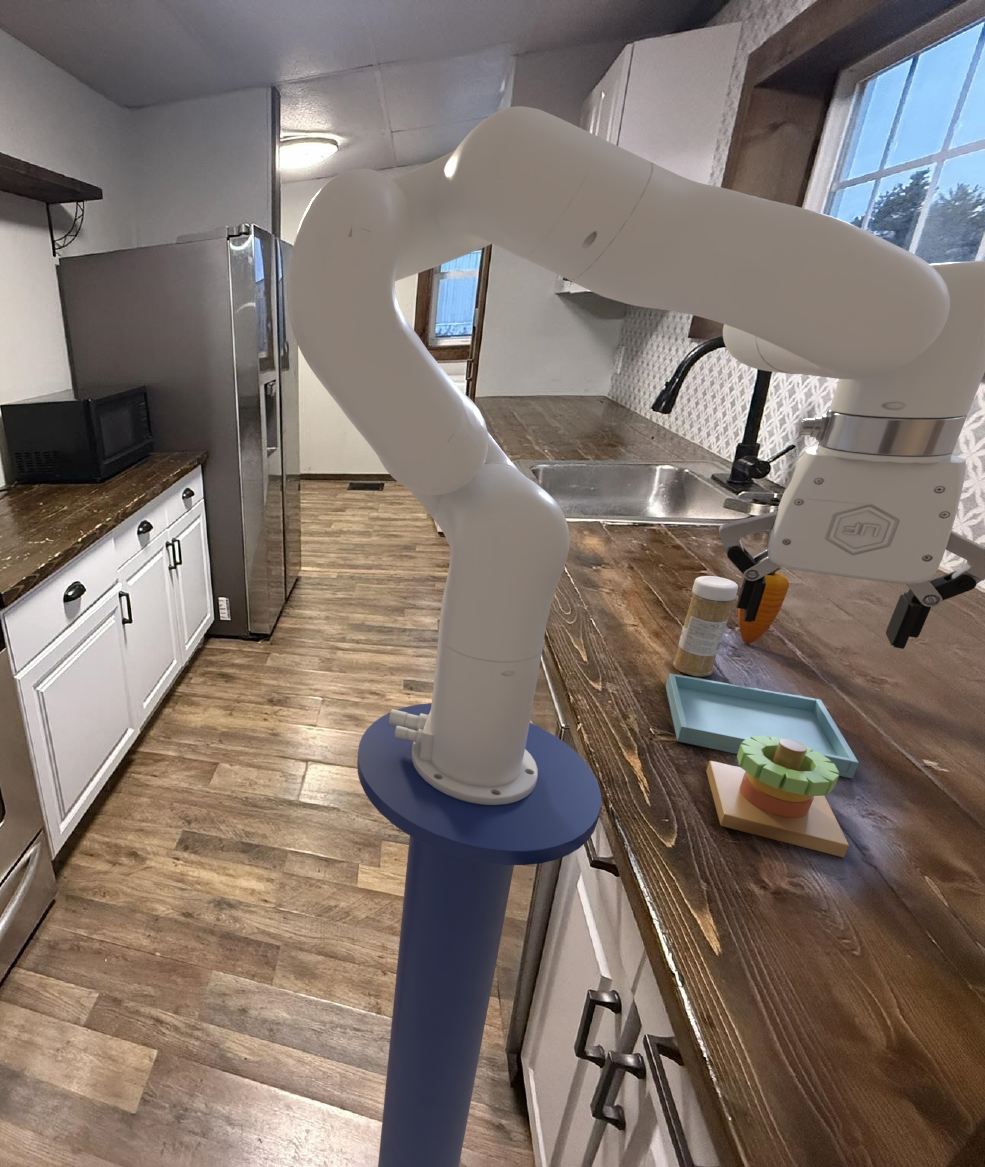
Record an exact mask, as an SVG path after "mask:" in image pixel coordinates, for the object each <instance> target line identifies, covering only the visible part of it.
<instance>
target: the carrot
mask: <svg viewBox="0 0 985 1167" xmlns="http://www.w3.org/2000/svg"><path fill="white" fill-rule="evenodd" d="M783 568H784V567H780V568H778V569H776V570H774V571H773V572H771V573H769V574H767V575H765V581H766V586H765V590H764V593H763V596H762V599H761V603H760V606H759V609H758V612H757V615H756V619H755V621H752V622H747V621H744V609H740V608H738V614H737V615H738V620H737V621H738V626H739V627H738V629H739V633H740V635H741V636H740V637H741V639H742V641H743V642H744V643H745V645H750V644H752V643H754V642H755V641H757V640H758V639H759V638H761V637H762V636H763V635H764V634H765V633H766V632H767V631H768V630H769V628H770V627H771V626H772V624H773V622H774V621H775V620H776V617H777V616H778V614H779V613H780V610H781V608H782V606H783V603H784V601H785V598H786V595H787V593H788V590H789V587H790V581H789V580H788V577H787V576H786V575H785V574H783V573H781V572H778V571H779V570H781V569H783Z"/></svg>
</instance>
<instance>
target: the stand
mask: <svg viewBox="0 0 985 1167" xmlns="http://www.w3.org/2000/svg"><path fill="white" fill-rule="evenodd" d="M806 752H807V748H806V746H804V745H803V744H801V743H799V742H797V741H794V740H790V739H782V740H780V741H779V744H778V746H777V749H776V752H775V755H774V757H773V758H769V760H770V761H771V762H773V763H775V764H777V765H780V766H782V767H784V768H787V769H791V770H796V771H800V772H802V771H804V770H802V769H801V768H800V767H801V765H802V762H803V759H804V757H805V754H806ZM705 771H706V776H707V779H708V783H709V787H710V791H711V795H712V800H713V803H714V806H715V810H716V813H717V818H718V821H719V824H720V826H721V827H724V828H726V829H727V828H728V829H732V830H736V831H740V832H743V833H746V834H751V835H755V836H759V837H763V838H767V839H770V840H773V841H778V842H782V843H786V844H789V845H793V846H798V847H801V848H805V849H809V850H812V851H817V852H821V853H825V854H828V855H832V856H836V857H840V858H845V855H846V853H847V852H848V849H849V847H850V845H849V843H848V840H847V838H846V835H845V834H844V832H843V830H842V828H841V826H840V823H839V822H838V820H837V818H836V815H835V814H834V811H833V810H832V808H831V806H830V804H829V801H828V800H827V798H826V794H825V795H824V796H807V795H806V794H805V793H804V795H798V794H794V793H789V792H785V791H783V790H782V787H781V786H780V787H779V788H778V789H776V788H774V787H771V786H769V785H767V784H765V783H763V782H760V781H759V778H753V777H752V776H751V775H750V774H748V773H747V772H746V771H745V770H744V769H742V766H737V765H732V764H727V763H722V762H718V761H715V760H709V761H708V764H707V767H706V770H705Z"/></svg>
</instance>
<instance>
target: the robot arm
mask: <svg viewBox="0 0 985 1167" xmlns="http://www.w3.org/2000/svg"><path fill="white" fill-rule="evenodd" d="M490 245H494V246H496V247H498V248H500V249H502V250H504V251H506V252H509V253H511V254H512V255H514V256H516V257H519V258H521V259H525V260H527V261H529V262H532V263H533V264H535V265H537V266H540V267H542V268H544V269H546V270H548V271H550V272H552V273H554V274H556V275H558V276H561V277H563V278H564V279H567V280H568V281H570V282H572V283H574V284H576V285H578V286H580V287H581V288H584V289H586V290H588V291H590V292H592V293H595V294H596V295H599V296H600V297H603V298H606V299H609V300H612V301H616V302H619V303H623V304H627V305H631V306H635V307H641V308H647V309H648V308H649V309H656V310H662V311H670V312H676V313H680V314H681V313H682V314H687V315H691V316H696V317H699V318H703V319H706V320H711V321H712V322H716V323H719V324H722V325H723V328H722V339H723V344H724V346H725V348H726V350H727V351H728V353H729V355H731V356H732V357H733V358H734V359H735V360H736V361H737V362H739V363H741V364H742V365H745V366H747V367H749V368H752V369H756V370H759V371H764V372H772V373H781V374H789V375H804V376H811V377H812V376H813V377H819V378H829V379H836V380H837V379H838V380H837V383H836V388H835V391H834V393H833V397H832V400H831V403H830V406H829V409H827V411H826V414H822V415H821V417H814V418H802V420H801V422H800V426H799V430H798V436H809V438H815V440H816V441H817V442H818V444H817V446H811V447H808V448H806V450H805V451H804V453H803V455H802V456H801V458H800V459H799V461H798V463H797V465H796V466H795V468H794V471H793V472H792V475H791V477H790V479H789V481H788V483H787V484H786V487H785V490H784V492H783V494H782V497H781V499H780V502H779V503H778V507H777V509H776V510H774V511H770V512H766V513H762V514H758V515H754V516H750V517H747V518H743V519H739V520H735V521H731V522H727V523H723V524H721V525H720V526H719V528H718V535H719V538H720V540H721V543H722V546H723V548H724V552H725V554H726V557H727V559H728V560H729V561H730V562H731V563H732V564H733V565H734V567H736V568H737V569H738V571H739V572H740V573H741V574H742V575H743V581H742V584H741V588H740V591H739V594H738V598H737V602H736V608H737V609H739V608H740V609H744V621H747V622H752V621H755V619H756V615H757V612H758V609H759V606H760V603H761V599H762V596H763V593H764V590H765V586H766V581H765V575H767V574H769V573H771V572H773V571H774V570H776V569H778V568H780V567H783V568H784V569H788V570H793V571H799V572H805V573H806V572H807V573H812V574H813V573H814V574H819V575H828V576H834V577H841V578H843V577H844V578H851V579H859V580H865V581H866V580H867V581H872V582H879V583H881V582H882V583H890V584H900V585H906V586H907V587H908V591H907V592H906V591H904V593H903V594H900V595H899V598H898V600H897V602H896V605H895V608H894V610H893V612H892V614H891V617H890V620H889V622H888V625H887V627H886V630H885V635H886V637H887V639H888V641H889V644H890V645H891V646H893V648H897V649H901V650H904V649H905V648H906V646H907V643H908V641H909V638H914V639H917V638H919V636H920V634H921V632H922V630H923V628H924V625H925V623H926V620H927V618H928V616H929V614H930V612H931V609H932V608H934V607H938V606H939V605H941V604H942V603H943V601H946V600H949V599H951V598H954V597H957V596H958V595H962V594H964V593H967V592H970V591H972V590H974V589H975V588H976V587H977V585H978V584H979V583H981V582H983V581H985V546H983V545H982V544H980V543H978V542H976V541H973V540H971V539H970V538H967V537H965V536H963V535H962V534H959V533H958V532H956V531H954V530H953V527H954V524H955V520H956V516H957V512H958V509H959V506H960V501H961V497H962V493H963V487H964V484H965V483H964V482H965V476H966V469H967V468H966V467H967V466H966V465H967V459H965V458H962V457H961V456H958V455H955V454H953V452H954V450H955V448H956V446H957V443H958V440H959V438H960V435H961V433H962V430H963V428H964V426H965V423H966V420H967V418H968V415H969V413H970V410H971V408H972V405H973V403H974V400H975V397H976V395H977V392H978V390H979V388H980V385H981V383H982V380H983V378H984V376H985V260H968V261H951V262H939V263H938V262H937V263H929V262H928V261H926V260H925V259H923V258H922V257H920V256H918V255H917V254H915V253H913V252H911V251H909V250H907V249H905V248H903V247H901V246H899V245H897V244H895V243H893V242H891V241H888V240H887V239H884V238H882V237H880V236H878V235H876V234H874V233H873V232H870V231H868V230H866V229H863V228H861V227H859V226H856V225H853V223H849V222H848V221H845V220H842V219H839V218H836V217H834V216H831V215H827V214H825V213H821V212H818V211H815V210H812V209H809V208H804V207H800V206H796V205H793V204H788V203H784V202H778V201H776V200H771V199H767V198H763V197H758V196H756V195H755V196H754V195H751V194H747V193H743V192H741V191H737V190H733V189H730V188H725V187H721V186H716V185H711V184H705V183H701V182H698V181H694V180H691V179H689V178H687V177H684V176H683V175H680V174H677V173H675V172H673V171H670V170H669V169H666V168H665V167H663V166H660V165H658V164H656V163H654V162H652V161H650V160H647V159H646V158H643V157H641V156H639V155H637V154H636V153H633V152H631V151H629V150H628V149H625V148H623V147H621V146H618V145H617V144H614V143H612V142H610V141H609V140H606V139H604V138H602V137H599V136H598V135H596V134H594V133H592V132H589V131H587V130H586V129H583V128H581V127H579V126H578V125H575V124H573V123H571V122H569V121H567V120H565V119H562V118H560V117H558V116H556V115H554V114H551V113H549V112H547V111H545V110H543V109H540V108H535V107H530V106H524V105H523V106H521V105H520V106H510V107H506V108H503V109H500V110H498V111H496V112H493V113H492V114H490V115H489V116H487V117H486V118H484V119H483V120H482V121H481V122H479V123H478V124H477V125H475V127H474V128H472V129H471V130H470V131H469V132H468V134H466V136H465V137H464V138H463V139H462V141H461V142H460V143H459V144H458V146H457V147H456V149H454V150H452V151H450V152H448V153H447V154H446V153H445V155H442V156H441V157H438V158H437V159H434V160H432V161H430V162H428V163H426V164H423V165H421V166H418V167H416V168H414V169H411V170H409V171H407V172H405V173H403V174H399V175H398V176H395V177H389V176H387V175H386V174H384V173H382V172H379V171H377V170H375V169H373V168H372V169H371V168H353V169H349V170H346V171H343V172H341V173H339V174H337V175H335V176H334V177H332V178H330V179H329V180H328V181H327V182H326V183H324V184H323V186H322V187H320V189H319V190H318V191H317V193H316V194H315V195H314V197H313V198H312V199H311V201H310V202H309V205H308V206H307V208H306V210H305V212H304V214H303V216H302V219H301V221H300V224H299V226H298V229H297V233H296V236H295V238H294V243H293V246H292V249H291V253H290V259H289V262H288V271H287V278H286V279H287V280H286V300H287V309H288V316H289V320H290V325H291V330H292V332H293V335H294V338H295V342H296V344H297V346H298V348H299V350H300V353H301V354H302V356H303V358H304V360H305V362H306V363H307V365H308V366H309V368H310V370H311V371H312V373H313V374H314V375H315V377H316V378H317V379H318V381H319V382H320V383H321V385H322V387H324V389H325V390H326V391H327V393H328V394H329V395H330V397H332V399H333V400H334V401H335V403H336V404H337V405H338V407H339V408H340V409H341V410H342V412H343V414H344V415H345V416H346V417H347V419H348V420H349V421H350V423H351V424H352V425H353V427H355V429H356V430H357V431H358V433H359V434H360V435H361V436H362V438H364V440H365V441H366V442H367V443H368V445H370V447H371V448H372V450H373V452H375V454H376V455H377V457H378V459H379V460H380V463H381V464H382V466H383V467H384V470H386V472H387V473H388V474H389V475H390V476H391V477H392V479H394V480H395V481H396V482H397V483H399V484H400V485H401V486H402V487H405V488H406V489H408V491H409V492H410V493H411V494H412V496H414V498H415V499H416V500H417V501H418V502H419V504H421V506H422V507H423V509H424V510H425V511H426V512H427V513H428V514H429V516H430V517H431V518H432V519H433V520H434V522H435V523H436V524H437V526H438V527H439V529H440V530H441V531H442V533H443V535H444V537H445V540H446V542H447V545H448V546H449V563H448V564H449V565H448V572H447V577H446V580H445V585H444V588H443V594H442V600H441V606H440V613H439V622H438V632H437V633H438V635H437V636H438V637H437V646H436V657H435V669H434V676H433V677H434V678H433V687H432V696H431V703H432V705H431V710H430V713H429V715H426V714H422V713H421V714H420V716H417V715H413V714H408V713H407V712H402V711H398V710H397V709H393V708H392V709H391V710H390V712H391V713H390V712H389V713H390V717H389V725H390V726H394V727H396V729H395V738H398V739H402V740H408V741H412V742H414V743H413V746H412V762H413V765H414V767H415V769H416V770H417V772H418V773H419V775H420V776H421V777H422V778H423V779H424V780H425V781H426V782H428V783H429V784H430V785H431V786H433V787H434V788H436V789H437V790H439V791H441V792H443V793H445V794H447V795H449V796H451V797H454V798H456V799H459V800H463V801H466V802H470V803H476V804H482V805H501V804H509V803H513V802H517V801H519V800H521V799H523V798H525V797H527V796H528V795H529V794H530V793H531V792H532V791H533V789H534V788H535V786H536V781H537V777H538V769H537V766H536V762H535V761H534V759H533V758H532V756H531V755H530V753H529V752H528V751H527V750H526V749H525V747H526V741H527V735H528V730H529V724H530V723H531V717H532V713H533V706H534V700H535V695H536V689H537V684H538V678H539V673H540V667H541V661H542V656H543V650H544V641H545V635H546V631H547V626H548V620H549V616H550V612H551V607H552V604H553V600H554V597H555V594H556V591H557V588H558V585H559V583H560V580H561V578H562V575H563V572H564V570H565V567H566V564H567V560H568V557H569V551H570V541H571V540H570V530H569V529H570V528H569V524H568V521H567V518H566V516H565V514H564V512H563V510H562V508H561V507H560V505H559V503H558V502H557V501H556V500H555V499H554V497H553V496H551V494H549V492H547V491H546V490H545V489H543V488H542V487H541V486H540V485H539V484H538V483H536V482H535V481H533V480H532V479H530V478H529V477H527V476H526V475H525V474H524V473H522V471H520V470H519V469H518V467H517V466H516V465H515V464H514V463H513V462H512V460H511V459H510V458H509V457H508V456H507V454H506V453H505V452H504V451H503V450H502V448H501V447H500V445H499V444H498V443H497V442H496V440H495V439H494V438H493V436H492V435H491V434H490V432H489V431H488V428H487V424H486V420H485V418H484V416H483V415H482V412H481V411H480V409H479V407H478V406H477V405H476V403H475V402H474V401H473V400H472V399H471V398H470V397H469V396H467V395H466V394H465V392H463V391H462V390H461V389H460V388H459V387H458V386H457V385H456V384H455V382H454V381H453V379H451V377H450V376H449V375H448V374H447V372H446V371H445V370H444V369H443V368H442V366H441V365H440V363H439V362H438V361H437V360H436V359H435V358H434V356H433V355H432V354H431V352H430V351H429V350H428V348H427V347H426V345H425V344H424V342H423V341H422V340H421V338H420V337H419V335H418V334H417V333H416V331H415V329H414V328H413V327H412V325H411V324H410V323H409V321H408V320H407V318H406V317H405V316H404V314H403V312H402V310H401V307H400V304H399V301H398V299H397V298H398V297H397V293H396V282H397V281H401V280H403V279H406V278H409V277H411V276H415V275H418V274H419V273H423V272H425V271H428V270H430V269H434V268H436V267H439V266H441V265H444V264H446V263H450V262H452V261H454V260H457V259H459V258H463V257H465V256H466V255H469V254H471V253H474V252H476V251H479V250H481V249H483V248H486V247H488V246H490ZM766 531H769V532H768V536H767V542H766V544H767V548H765V549H764V550H762V551H761V552H759V553H757V554H756V555H754V556H752V554H750V552H749V551H748V550H747V549H746V548H745V547H744V546H743V543H742V541H741V539H742V538H743V537H746V536H749V535H753V534H757V533H761V532H766ZM946 551H949V552H950V553H952V554H954V555H956V556H958V557H960V558H962V559H963V560H965V561H966V562H965V564H963V565H962V566H961V567H960V568H959V569H957V570H954V571H951V572H950V573H947V574H944V575H942V576H939V577H937V578H934V577H935V575H936V573H937V572H938V570H939V567H940V565H941V563H942V560H943V559H944V555H945V552H946ZM932 578H934V579H932Z"/></svg>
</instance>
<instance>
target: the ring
mask: <svg viewBox="0 0 985 1167" xmlns="http://www.w3.org/2000/svg"><path fill="white" fill-rule="evenodd" d="M780 740H782V739H781V738H776V737H771V736H770V738H768V737H766V736H753V737H751V738H747V739H746V740H744V741H743V742H742V743H741V745H740V748H739V751H738V754H736V759H737V762H738V765H739V767H741V768H742V769H744V770H745V771H746V772H747V773H748V774H750V775H751V776H752V777H753V778H759V781H760V782H763V783H765V784H767V785H769V786H771V787H774V788H776V789H778V788H779V787H780V786H781V787H782V790H783V791H785V792H789V793H794V794H798V795H804V793H805V794H806V795H807V796H824V795H825V796H826V795H829V794H830V793H831V792H832V791H833V790H834V789H835V787H836V784H837V782H838V780H839V777H840V776H839V771H838V770H837V768H836V766H835V764H833V763H831V760H829V759H828V758H826V757H825V756H823V755H822V754H820V753H819V752H812V751H813V749H811V748H809V747H806V748H807V752H806V754H805V757H804V759H803V762H802V765H801V767H800V768H801V769H802V770H804V771H802V772H800V771H796V770H791V769H787V768H784V767H782V766H780V765H777V764H775V763H773V762H771V761H770V760H769V758H773V757H774V755H775V752H776V749H777V746H778V744H779V741H780Z"/></svg>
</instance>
